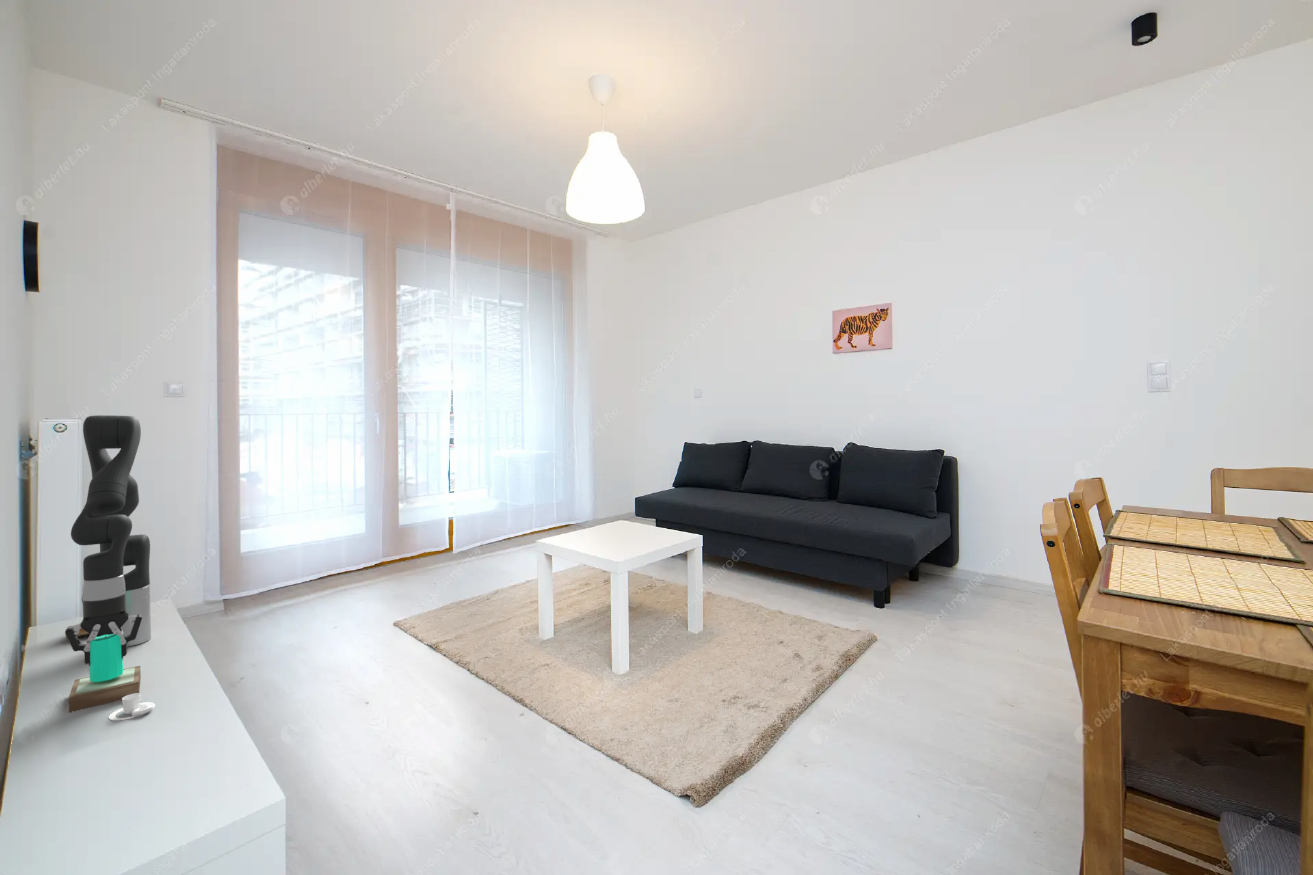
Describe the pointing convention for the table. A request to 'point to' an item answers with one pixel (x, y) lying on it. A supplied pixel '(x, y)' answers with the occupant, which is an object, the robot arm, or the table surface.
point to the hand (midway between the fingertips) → (106, 661)
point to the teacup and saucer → (132, 707)
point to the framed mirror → (104, 690)
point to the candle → (105, 658)
